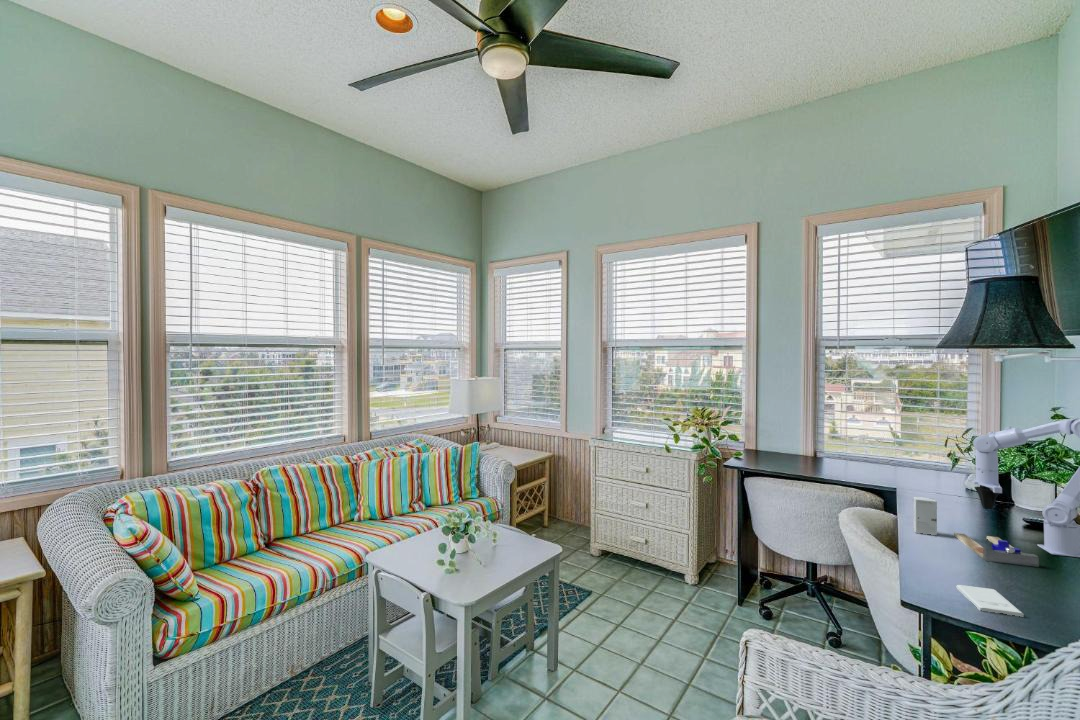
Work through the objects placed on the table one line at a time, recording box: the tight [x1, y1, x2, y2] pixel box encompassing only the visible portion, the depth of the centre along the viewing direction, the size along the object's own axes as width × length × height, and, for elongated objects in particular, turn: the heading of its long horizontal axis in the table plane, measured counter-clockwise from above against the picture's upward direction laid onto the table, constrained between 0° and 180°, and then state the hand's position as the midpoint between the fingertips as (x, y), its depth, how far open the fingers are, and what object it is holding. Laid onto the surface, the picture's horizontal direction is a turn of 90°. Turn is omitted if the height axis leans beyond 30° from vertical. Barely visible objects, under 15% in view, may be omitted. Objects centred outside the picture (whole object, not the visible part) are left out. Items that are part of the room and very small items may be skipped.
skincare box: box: [913, 496, 938, 536], centre depth 167 cm, size 6×4×12 cm
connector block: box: [982, 547, 1040, 568], centre depth 142 cm, size 12×2×4 cm, turn 68°
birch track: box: [953, 532, 1023, 559], centre depth 152 cm, size 12×21×1 cm, turn 158°
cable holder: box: [991, 539, 1022, 553], centre depth 146 cm, size 8×4×4 cm, turn 158°
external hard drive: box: [956, 584, 1025, 618], centre depth 119 cm, size 2×8×12 cm
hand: (987, 508), depth 164 cm, fingers closed
